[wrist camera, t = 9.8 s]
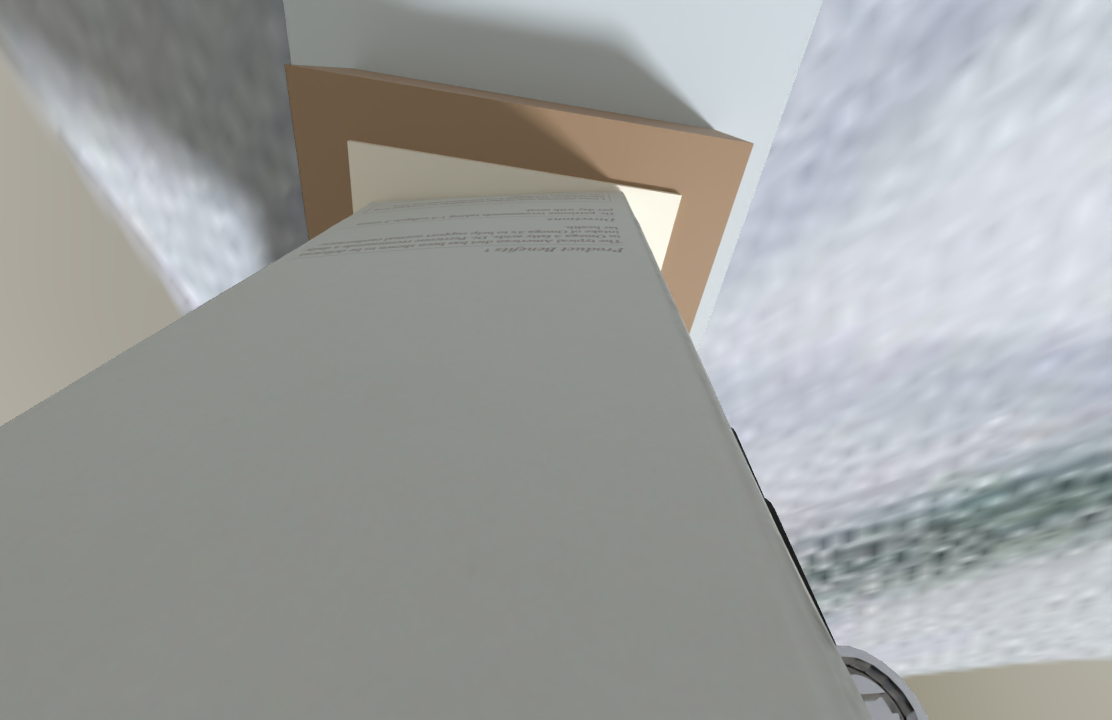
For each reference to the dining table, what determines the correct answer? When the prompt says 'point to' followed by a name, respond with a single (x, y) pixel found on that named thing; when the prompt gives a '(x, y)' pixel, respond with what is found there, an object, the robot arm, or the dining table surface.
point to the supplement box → (408, 497)
